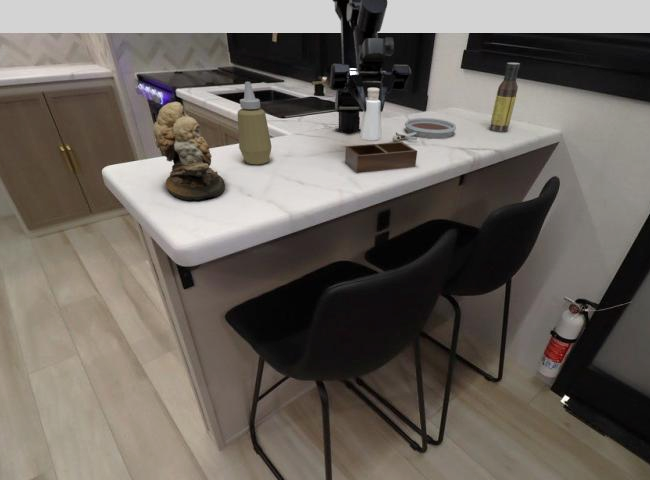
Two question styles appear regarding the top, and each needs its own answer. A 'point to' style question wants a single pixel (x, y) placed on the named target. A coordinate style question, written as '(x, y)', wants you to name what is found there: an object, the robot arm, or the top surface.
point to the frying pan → (427, 129)
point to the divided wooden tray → (380, 156)
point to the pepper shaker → (372, 117)
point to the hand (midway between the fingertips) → (373, 110)
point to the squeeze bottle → (253, 129)
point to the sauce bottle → (505, 99)
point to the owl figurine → (186, 155)
